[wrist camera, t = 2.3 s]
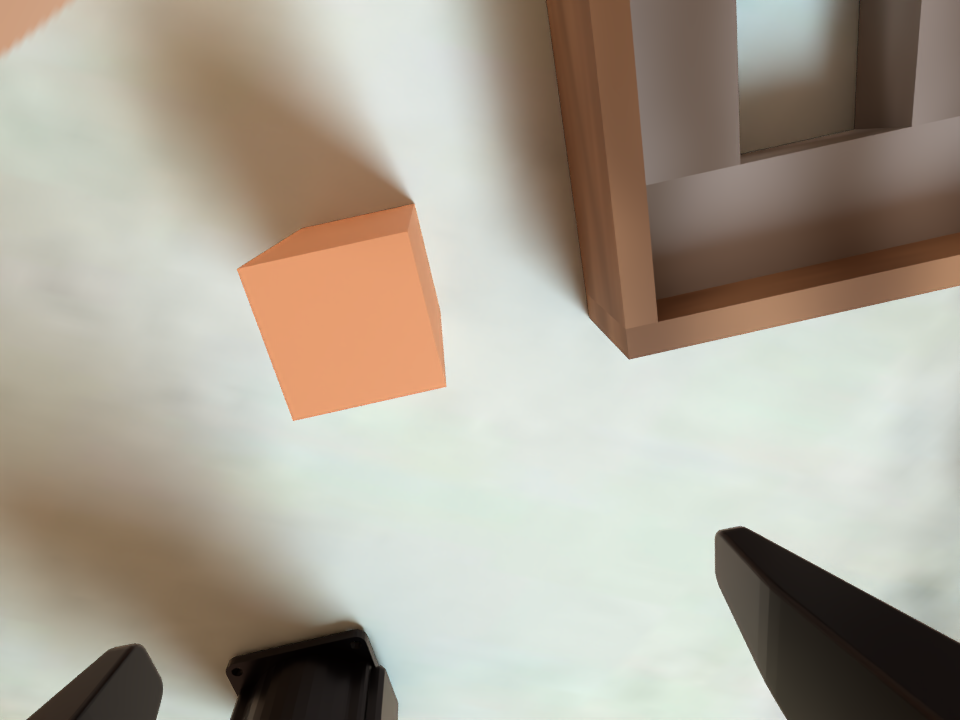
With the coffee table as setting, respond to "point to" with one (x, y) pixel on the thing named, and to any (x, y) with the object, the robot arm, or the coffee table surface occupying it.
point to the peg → (349, 312)
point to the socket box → (751, 173)
